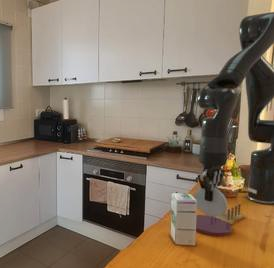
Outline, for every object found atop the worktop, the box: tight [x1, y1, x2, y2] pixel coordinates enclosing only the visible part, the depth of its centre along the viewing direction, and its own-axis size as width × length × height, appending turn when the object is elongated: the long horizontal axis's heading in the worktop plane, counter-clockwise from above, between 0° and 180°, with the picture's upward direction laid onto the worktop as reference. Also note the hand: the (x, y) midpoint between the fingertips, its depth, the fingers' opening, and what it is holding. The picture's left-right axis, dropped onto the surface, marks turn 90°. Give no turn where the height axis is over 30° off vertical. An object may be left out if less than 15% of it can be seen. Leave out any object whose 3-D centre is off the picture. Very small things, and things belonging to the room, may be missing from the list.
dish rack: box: [206, 203, 245, 226], centre depth 99 cm, size 10×8×5 cm
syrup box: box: [170, 192, 198, 246], centre depth 84 cm, size 6×6×14 cm
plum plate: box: [196, 214, 233, 237], centre depth 93 cm, size 13×13×1 cm
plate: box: [193, 187, 228, 217], centre depth 91 cm, size 1×10×10 cm, turn 32°
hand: (209, 199), depth 91 cm, fingers closed on plate, 1 cm apart
